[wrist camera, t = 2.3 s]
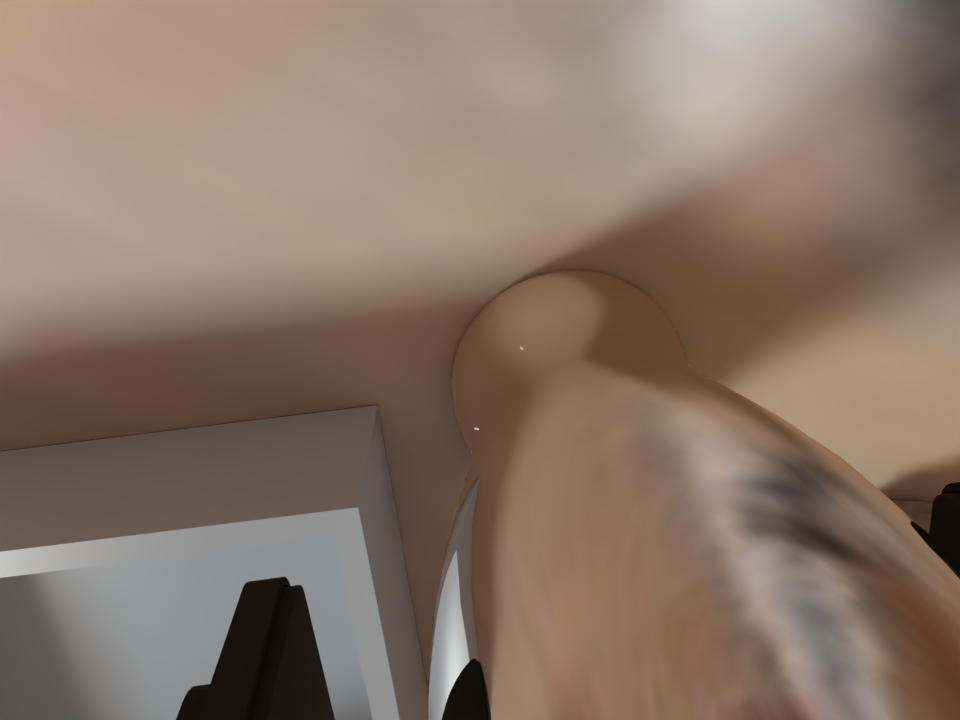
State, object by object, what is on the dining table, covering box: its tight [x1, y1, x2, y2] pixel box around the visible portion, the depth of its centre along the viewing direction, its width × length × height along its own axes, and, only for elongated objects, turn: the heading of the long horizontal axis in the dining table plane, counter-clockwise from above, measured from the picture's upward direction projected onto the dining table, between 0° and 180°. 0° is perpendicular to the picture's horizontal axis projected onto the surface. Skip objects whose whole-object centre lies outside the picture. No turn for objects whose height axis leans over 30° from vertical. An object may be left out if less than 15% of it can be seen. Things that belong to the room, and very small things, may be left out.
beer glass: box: [428, 270, 960, 720], centre depth 13 cm, size 7×7×15 cm
